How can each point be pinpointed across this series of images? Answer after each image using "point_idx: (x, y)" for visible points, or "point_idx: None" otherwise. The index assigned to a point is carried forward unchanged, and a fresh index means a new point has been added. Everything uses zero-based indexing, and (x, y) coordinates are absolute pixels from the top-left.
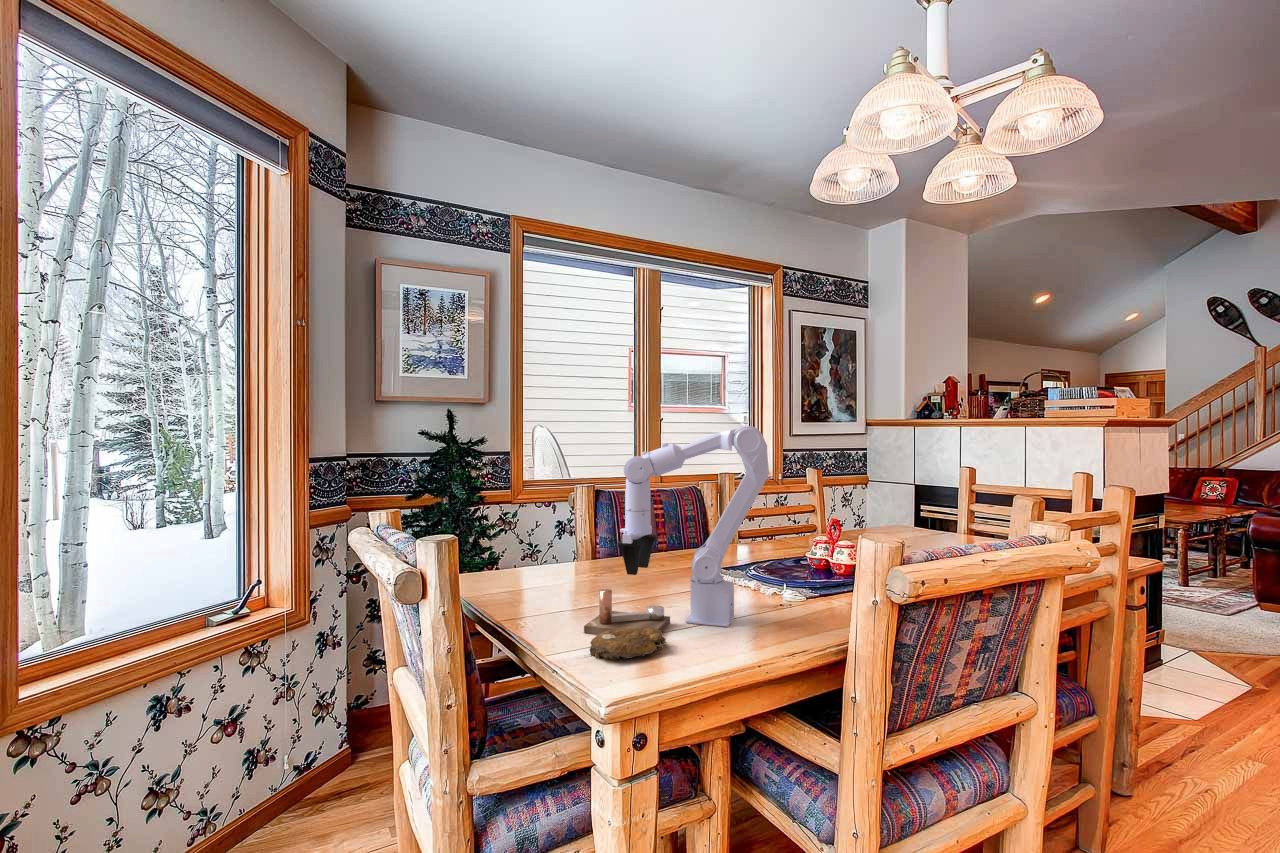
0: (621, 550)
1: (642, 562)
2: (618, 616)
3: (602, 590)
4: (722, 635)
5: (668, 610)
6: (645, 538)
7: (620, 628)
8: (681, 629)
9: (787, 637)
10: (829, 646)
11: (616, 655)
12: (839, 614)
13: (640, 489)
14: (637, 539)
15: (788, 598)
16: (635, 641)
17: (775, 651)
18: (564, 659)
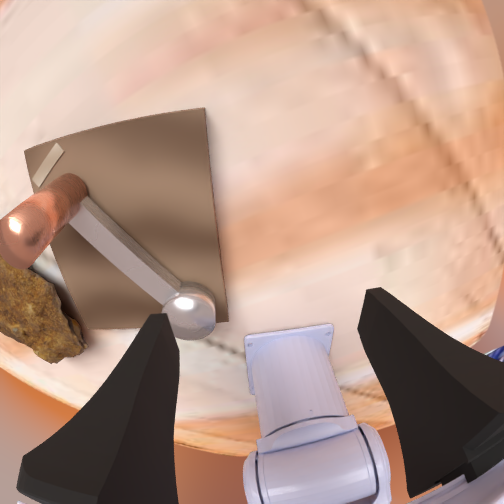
0: (55, 441)
1: (374, 330)
2: (84, 236)
3: (5, 233)
4: (202, 393)
5: (348, 261)
6: (436, 469)
7: (61, 253)
8: (197, 339)
9: (239, 435)
10: (226, 454)
11: None
12: None
13: None
14: (464, 433)
15: None
16: (7, 333)
17: (175, 434)
18: None
